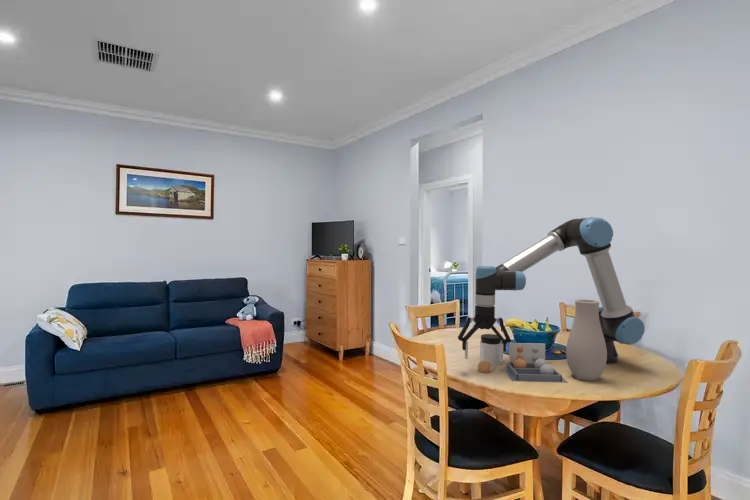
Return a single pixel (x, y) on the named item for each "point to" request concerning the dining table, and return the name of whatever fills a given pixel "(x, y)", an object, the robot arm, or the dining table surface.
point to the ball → (484, 367)
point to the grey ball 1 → (539, 363)
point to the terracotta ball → (519, 363)
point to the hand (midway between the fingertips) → (483, 359)
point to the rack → (529, 364)
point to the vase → (586, 342)
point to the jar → (490, 349)
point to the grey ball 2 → (546, 370)
